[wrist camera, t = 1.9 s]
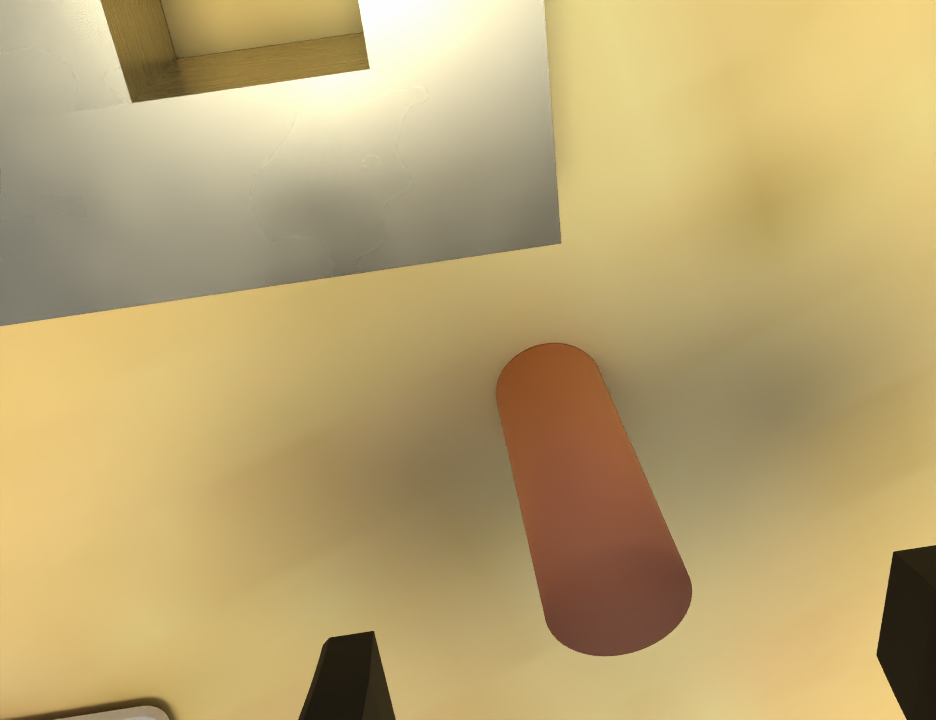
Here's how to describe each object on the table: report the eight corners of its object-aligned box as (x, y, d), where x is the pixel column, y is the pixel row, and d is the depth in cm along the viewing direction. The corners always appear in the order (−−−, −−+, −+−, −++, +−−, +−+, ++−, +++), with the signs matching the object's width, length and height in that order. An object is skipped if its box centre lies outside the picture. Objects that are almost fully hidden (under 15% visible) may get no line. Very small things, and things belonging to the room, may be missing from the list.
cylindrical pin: (604, 426, 19) (691, 644, 14) (502, 441, 19) (549, 666, 14) (599, 335, 18) (692, 534, 12) (490, 352, 18) (538, 558, 12)
